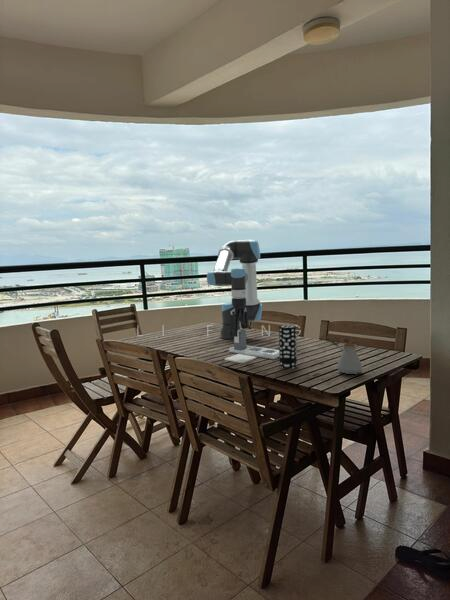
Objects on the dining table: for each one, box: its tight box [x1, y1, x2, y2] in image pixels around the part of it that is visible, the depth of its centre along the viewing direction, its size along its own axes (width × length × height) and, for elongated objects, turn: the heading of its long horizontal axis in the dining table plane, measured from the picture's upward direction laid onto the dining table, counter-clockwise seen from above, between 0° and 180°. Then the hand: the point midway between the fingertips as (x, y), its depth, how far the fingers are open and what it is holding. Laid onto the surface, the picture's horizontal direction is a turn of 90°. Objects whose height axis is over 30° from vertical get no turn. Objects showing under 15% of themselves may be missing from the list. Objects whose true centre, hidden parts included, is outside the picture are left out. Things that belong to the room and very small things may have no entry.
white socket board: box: [228, 344, 279, 360], centre depth 232 cm, size 30×10×2 cm, turn 50°
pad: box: [224, 353, 257, 364], centre depth 222 cm, size 12×12×1 cm
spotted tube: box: [278, 324, 298, 369], centre depth 204 cm, size 8×8×20 cm
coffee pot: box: [322, 335, 364, 374], centre depth 195 cm, size 21×12×15 cm, turn 33°
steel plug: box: [233, 330, 247, 351], centre depth 220 cm, size 5×5×10 cm
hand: (240, 341), depth 220 cm, fingers closed on steel plug, 5 cm apart
